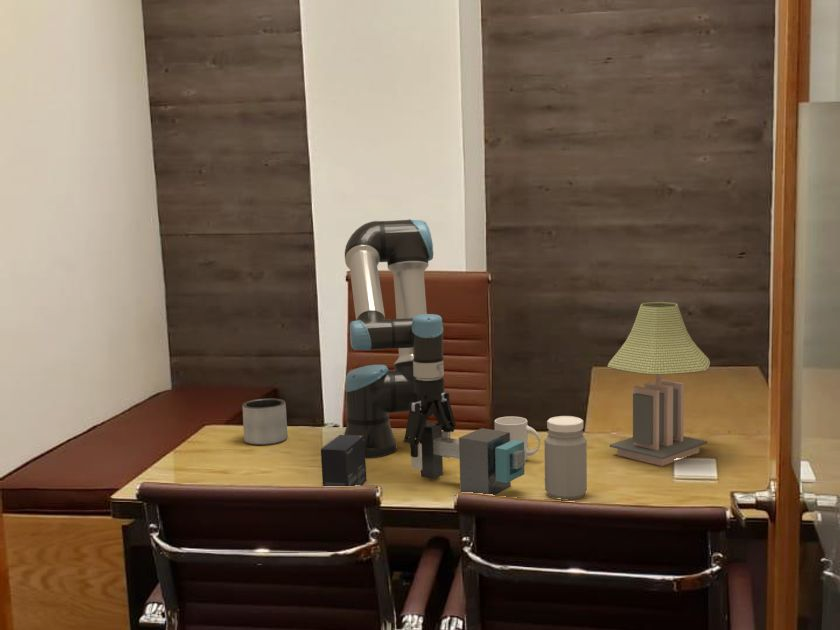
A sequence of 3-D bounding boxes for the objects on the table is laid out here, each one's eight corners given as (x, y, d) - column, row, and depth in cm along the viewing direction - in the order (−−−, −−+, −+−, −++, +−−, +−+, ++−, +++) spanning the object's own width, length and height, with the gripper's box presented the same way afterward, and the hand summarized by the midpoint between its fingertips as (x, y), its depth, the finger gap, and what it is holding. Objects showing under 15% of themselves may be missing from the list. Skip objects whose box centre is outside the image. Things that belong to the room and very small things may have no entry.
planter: (245, 436, 303) (243, 399, 302) (288, 433, 305) (286, 396, 303) (242, 447, 291) (240, 409, 289) (287, 445, 292) (285, 406, 291)
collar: (495, 481, 240) (495, 447, 239) (513, 472, 247) (513, 439, 245) (506, 483, 238) (506, 449, 237) (524, 474, 245) (523, 441, 244)
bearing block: (460, 492, 246) (458, 437, 244) (483, 481, 254) (481, 428, 252) (488, 498, 241) (487, 442, 239) (510, 486, 249) (509, 432, 247)
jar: (544, 487, 247) (543, 415, 245) (585, 487, 246) (584, 414, 244) (545, 501, 238) (544, 425, 235) (588, 501, 237) (587, 425, 234)
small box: (341, 479, 259) (339, 433, 257) (367, 481, 257) (365, 435, 255) (322, 496, 246) (319, 448, 244) (348, 498, 244) (346, 449, 242)
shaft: (420, 476, 256) (419, 425, 254) (430, 472, 259) (428, 422, 257) (517, 495, 240) (516, 441, 238) (525, 491, 243) (524, 437, 241)
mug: (536, 466, 265) (536, 426, 263) (491, 463, 268) (490, 423, 267) (543, 457, 273) (543, 417, 271) (499, 454, 277) (499, 415, 275)
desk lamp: (675, 475, 254) (676, 315, 248) (585, 453, 275) (584, 305, 269) (732, 453, 270) (734, 303, 264) (643, 434, 291) (644, 294, 285)
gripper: (412, 388, 241) (415, 477, 244) (468, 370, 260) (470, 453, 263) (387, 385, 246) (390, 472, 249) (444, 367, 264) (446, 449, 268)
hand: (431, 463), depth 256 cm, fingers open, 11 cm apart
